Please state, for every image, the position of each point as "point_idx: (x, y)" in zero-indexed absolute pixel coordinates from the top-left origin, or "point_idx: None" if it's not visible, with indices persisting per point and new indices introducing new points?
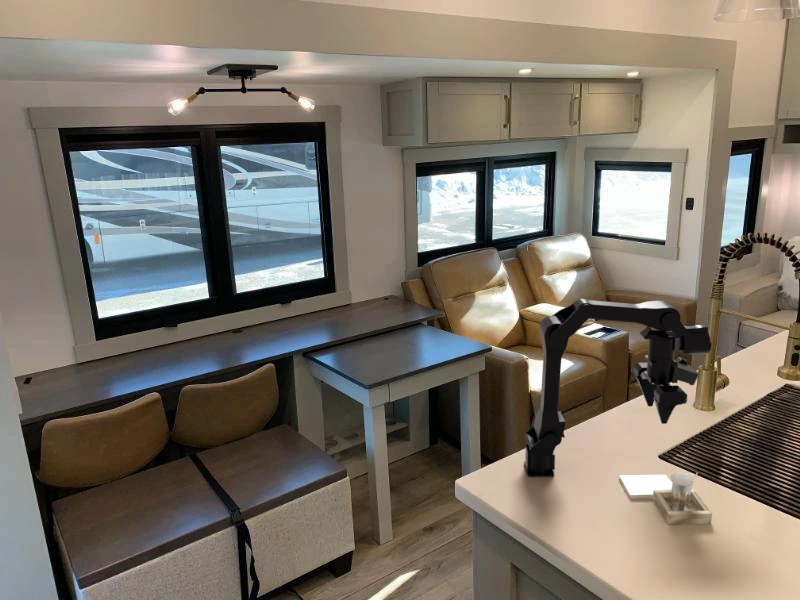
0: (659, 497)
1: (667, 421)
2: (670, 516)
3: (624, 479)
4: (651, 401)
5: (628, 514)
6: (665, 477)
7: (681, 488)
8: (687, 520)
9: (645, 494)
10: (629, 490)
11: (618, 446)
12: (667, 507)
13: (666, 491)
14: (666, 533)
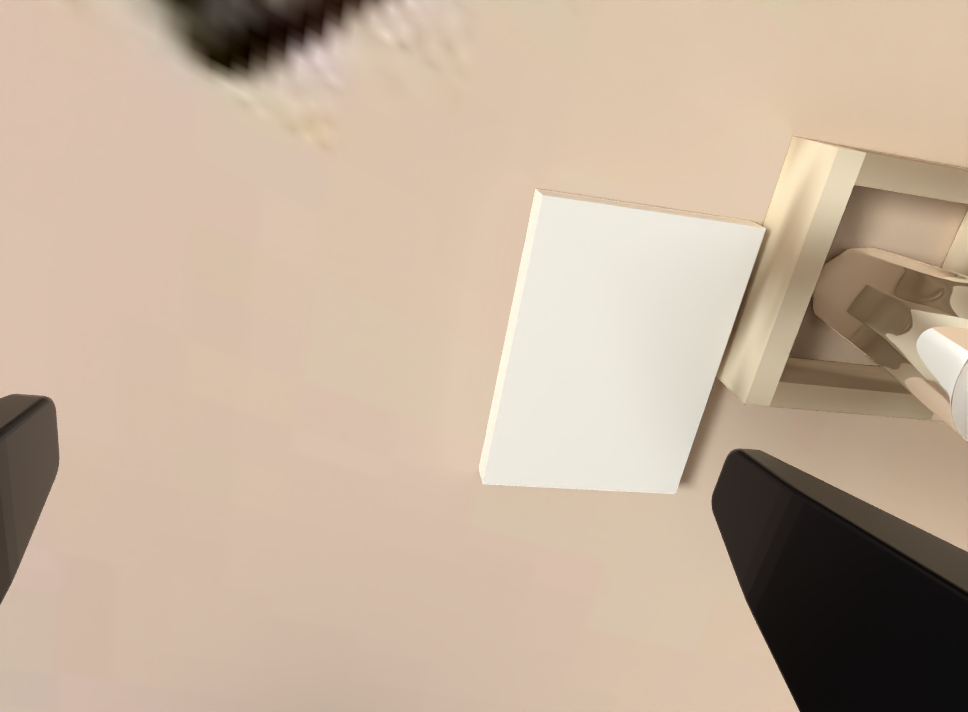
0: (816, 404)
1: (791, 466)
2: None
3: (529, 471)
4: (8, 487)
5: None
6: (575, 215)
7: None
8: None
9: (698, 419)
10: (639, 484)
11: (27, 320)
12: (906, 403)
13: (786, 339)
14: (948, 426)
